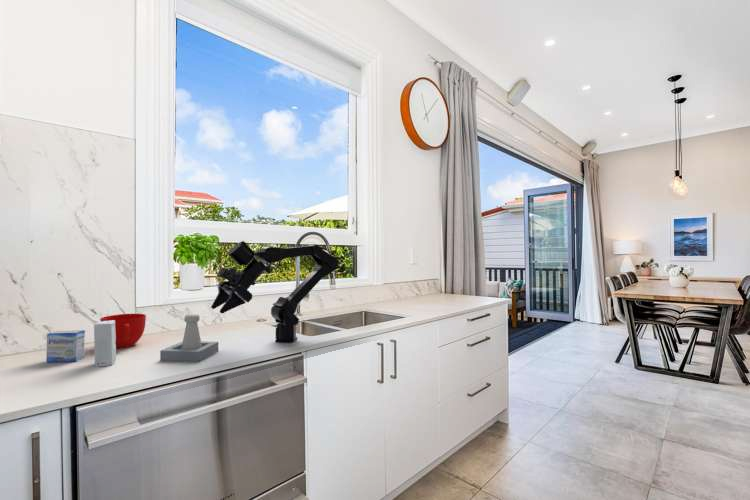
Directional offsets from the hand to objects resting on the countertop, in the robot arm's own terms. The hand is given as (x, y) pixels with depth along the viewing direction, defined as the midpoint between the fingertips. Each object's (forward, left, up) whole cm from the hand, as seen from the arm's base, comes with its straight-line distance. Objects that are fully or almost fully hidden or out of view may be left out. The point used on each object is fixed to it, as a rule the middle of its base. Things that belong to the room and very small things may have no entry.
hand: (216, 310), depth 122 cm
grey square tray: (+5, +5, -13) cm, 16 cm away
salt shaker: (+5, +5, -14) cm, 15 cm away
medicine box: (+39, +13, -14) cm, 44 cm away
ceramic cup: (+33, -3, -14) cm, 36 cm away
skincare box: (+25, +15, -14) cm, 33 cm away
